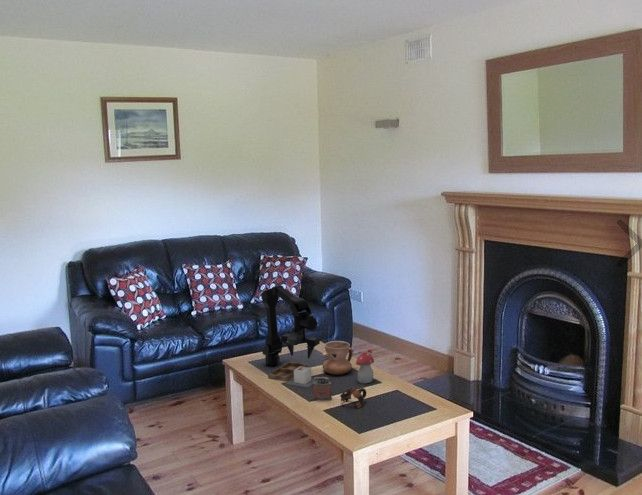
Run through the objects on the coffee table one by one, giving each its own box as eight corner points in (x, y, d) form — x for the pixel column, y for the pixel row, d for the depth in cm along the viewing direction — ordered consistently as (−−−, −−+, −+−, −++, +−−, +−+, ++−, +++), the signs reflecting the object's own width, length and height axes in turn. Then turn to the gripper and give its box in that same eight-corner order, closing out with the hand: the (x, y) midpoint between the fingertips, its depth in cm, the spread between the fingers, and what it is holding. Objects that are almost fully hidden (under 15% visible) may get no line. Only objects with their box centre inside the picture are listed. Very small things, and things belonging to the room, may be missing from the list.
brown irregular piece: (354, 412, 251) (344, 394, 252) (343, 414, 259) (334, 397, 260) (374, 398, 257) (365, 381, 258) (363, 401, 265) (354, 384, 266)
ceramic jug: (331, 379, 288) (331, 351, 286) (314, 371, 300) (314, 343, 298) (361, 372, 298) (361, 344, 296) (344, 364, 309) (344, 337, 308)
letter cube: (294, 382, 285) (293, 369, 284) (300, 378, 290) (299, 366, 289) (305, 384, 282) (304, 371, 281) (311, 379, 287) (310, 367, 286)
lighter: (332, 397, 266) (331, 375, 264) (331, 400, 262) (331, 378, 261) (314, 397, 267) (313, 375, 265) (313, 400, 263) (312, 378, 262)
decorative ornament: (372, 377, 289) (371, 347, 287) (377, 382, 282) (376, 351, 280) (353, 380, 286) (353, 350, 284) (358, 385, 280) (358, 354, 278)
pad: (285, 384, 283) (285, 383, 283) (298, 376, 294) (297, 375, 294) (308, 388, 278) (308, 387, 278) (319, 379, 288) (319, 378, 288)
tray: (268, 379, 291) (268, 374, 290) (289, 366, 309) (289, 361, 308) (287, 382, 286) (287, 377, 286) (307, 368, 304) (307, 364, 304)
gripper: (274, 327, 285) (275, 359, 287) (308, 332, 276) (309, 365, 279) (286, 321, 294) (286, 352, 297) (320, 326, 286) (320, 357, 288)
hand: (300, 357), depth 290 cm, fingers open, 9 cm apart
